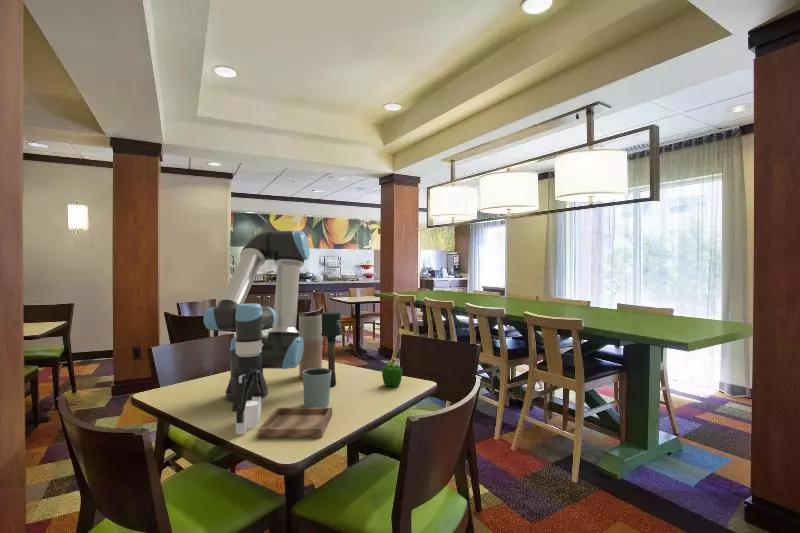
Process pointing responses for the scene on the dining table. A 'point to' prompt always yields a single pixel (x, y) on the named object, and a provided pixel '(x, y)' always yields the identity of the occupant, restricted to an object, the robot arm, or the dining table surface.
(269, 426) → the tray
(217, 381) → the dining table surface
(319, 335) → the vase
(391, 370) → the bell pepper
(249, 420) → the white cup
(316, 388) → the blue cup
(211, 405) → the dining table surface
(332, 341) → the stick grenade
